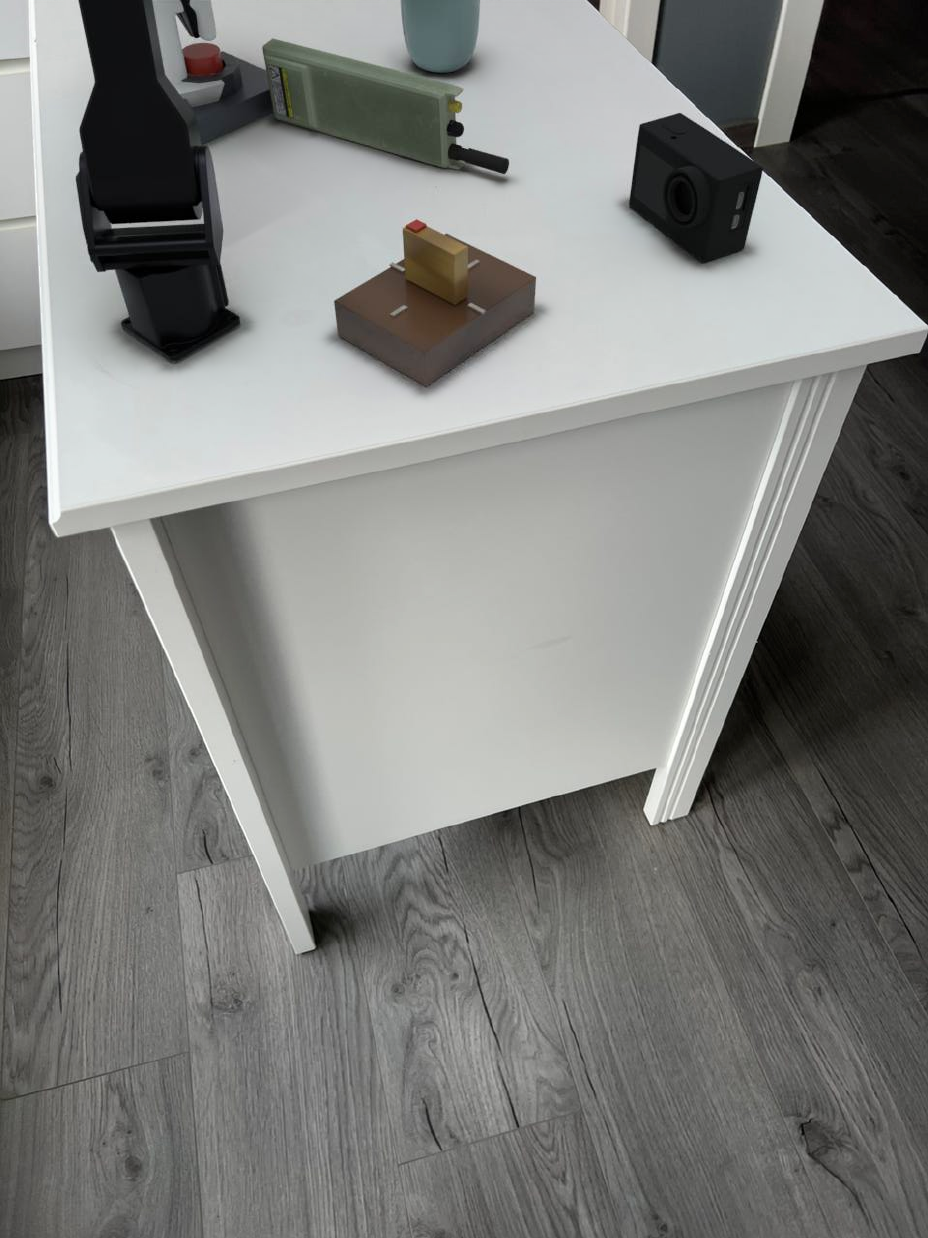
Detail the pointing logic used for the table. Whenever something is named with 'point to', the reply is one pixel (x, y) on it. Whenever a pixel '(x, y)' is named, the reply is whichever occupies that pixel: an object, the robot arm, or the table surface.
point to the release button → (202, 59)
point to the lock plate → (434, 316)
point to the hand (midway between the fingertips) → (197, 35)
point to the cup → (440, 32)
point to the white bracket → (171, 50)
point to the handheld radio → (370, 105)
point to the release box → (233, 98)
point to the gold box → (435, 262)
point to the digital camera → (694, 186)
